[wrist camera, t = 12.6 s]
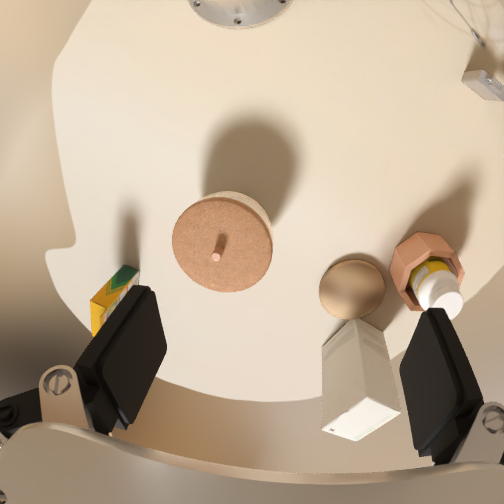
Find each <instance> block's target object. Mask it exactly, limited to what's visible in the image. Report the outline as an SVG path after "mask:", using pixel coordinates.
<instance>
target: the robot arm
mask: <svg viewBox="0 0 504 504" xmlns="http://www.w3.org/2000/svg"><path fill="white" fill-rule="evenodd" d="M281 1H285V3H281ZM292 1H293V0H188V2H189V4H190V6H191V7H192V9H193V10H194V11H195V12H196V13H197V14H198V15H199V16H200V17H201V18H203V19H204V20H206V21H207V22H209V23H211V24H213V25H216V26H219V27H223V28H229V29H245V28H252V27H256V26H259V25H263V24H265V23H267V22H269V21H271V20H273V19H275V18H276V17H278V16H279V15H281V14H282V13H283V12H284V11H285V10H286V9H287V8H288V7H289V5H290V4H291V2H292ZM199 4H200V6H198V5H199ZM238 21H241V23H240V24H237V22H238ZM166 351H167V343H166V339H165V335H164V331H163V327H162V323H161V318H160V314H159V309H158V305H157V300H156V296H155V292H154V291H151V289H150V287H148V286H142V285H133V286H132V287H131V288H130V289H129V291H128V292H127V293H126V294H125V296H124V297H123V298H122V300H121V301H120V302H119V304H118V305H117V306H116V308H115V309H114V310H113V312H112V313H111V314H110V316H109V317H108V318H107V320H106V321H105V323H104V324H103V325H102V327H101V328H100V329H99V331H98V332H97V334H96V335H95V336H94V338H93V340H92V341H91V342H90V343H89V345H88V346H87V348H86V349H85V351H84V352H83V354H82V355H81V356H80V358H79V359H78V361H77V362H76V365H75V366H74V368H73V369H72V368H71V367H68V366H65V365H59V366H55V367H52V368H50V369H49V370H47V371H46V372H45V373H44V374H43V376H42V377H41V379H40V382H39V388H35V389H33V390H30V391H27V392H24V393H21V394H18V395H15V396H12V397H8V398H6V399H3V400H1V401H0V504H504V406H503V405H502V404H500V403H497V402H488V403H485V404H484V401H483V397H482V393H481V391H480V388H479V386H478V383H477V380H476V378H475V375H474V373H473V370H472V368H471V365H470V363H469V361H468V358H467V356H466V354H465V351H464V349H463V347H462V344H461V342H460V340H459V338H458V336H457V334H456V331H455V330H454V327H453V325H452V323H451V321H450V319H449V317H448V315H447V313H446V311H445V309H444V308H433V307H430V308H428V309H427V310H426V312H425V311H424V312H423V313H422V314H421V317H420V319H419V322H418V324H417V327H416V329H415V332H414V334H413V336H412V339H411V341H410V344H409V346H408V348H407V350H406V353H405V355H404V357H403V359H402V362H401V364H400V376H401V381H402V385H403V390H404V395H405V400H406V405H407V410H408V415H409V420H410V426H411V432H412V438H413V444H414V448H415V449H416V450H418V453H419V457H424V456H430V455H431V456H432V461H433V462H432V464H431V465H430V467H422V468H415V469H406V470H396V471H387V472H386V471H385V472H372V473H350V474H349V473H348V474H315V473H293V472H292V473H291V472H277V471H267V470H258V469H249V468H242V467H235V466H228V465H222V464H216V463H210V462H205V461H200V460H195V459H190V458H186V457H181V456H177V455H173V454H169V453H165V452H161V451H157V450H154V449H150V448H147V447H143V446H139V445H136V444H132V443H129V442H126V441H122V440H120V439H116V438H113V436H112V434H111V432H112V430H113V428H114V427H117V428H120V429H123V430H127V427H128V425H129V424H132V423H133V422H134V421H135V419H136V417H137V414H138V412H139V410H140V408H141V406H142V403H143V401H144V399H145V397H146V395H147V393H148V390H149V388H150V386H151V384H152V382H153V379H154V377H155V375H156V373H157V371H158V369H159V367H160V365H161V363H162V361H163V359H164V356H165V354H166Z"/></svg>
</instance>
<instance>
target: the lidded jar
mask: <svg viewBox="0 0 504 504" xmlns="http://www.w3.org/2000/svg"><path fill="white" fill-rule="evenodd" d="M172 246H173V251H174V254H175V258H176V260H177V262H178V264H179V265H180V267H181V268H182V270H183V271H184V272H185V273H186V274H187V275H188V276H189V277H190V278H191V279H192V280H193V281H195V282H196V283H198V284H199V285H201V286H203V287H205V288H208V289H211V290H214V291H219V292H237V291H241V290H244V289H247V288H249V287H251V286H253V285H254V284H256V283H257V282H258V281H259V280H261V278H262V277H263V276H264V275H265V273H266V272H267V270H268V268H269V265H270V262H271V258H272V252H273V231H272V226H271V223H270V220H269V218H268V216H267V214H266V212H265V211H264V209H263V208H262V207H261V206H260V205H259V204H258V203H257V202H256V201H255V200H253V199H252V198H250V197H249V196H246V195H244V194H241V193H238V192H233V191H222V192H216V193H213V194H210V195H207V196H205V197H203V198H202V199H200V200H198V201H197V202H196V203H194V204H193V205H191V206H190V207H189V208H187V209H186V210H185V211H184V212H183V213H182V215H181V216H180V217H179V219H178V220H177V222H176V224H175V227H174V230H173V235H172Z"/></svg>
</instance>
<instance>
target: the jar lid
mask: <svg viewBox="0 0 504 504" xmlns="http://www.w3.org/2000/svg"><path fill="white" fill-rule="evenodd" d="M384 293H385V284H384V281H383V278H382V276H381V273H380V272H379V270H378V269H377V268H376V267H375V266H373V265H372V264H370V263H368V262H366V261H362V260H347V261H343V262H340V263H338V264H336V265H334V266H333V267H331V268H330V269H329V270H328V271H327V272H326V273H325V274H324V276H323V277H322V279H321V282H320V285H319V298H320V302H321V304H322V306H323V308H324V309H325V310H326V311H327V312H328V313H329V314H331V315H332V316H334V317H337V318H340V319H349V320H350V319H358V318H361V317H364V316H366V315H368V314H370V313H371V312H373V311H374V310H375V309H376V308H377V307H378V306H379V304H380V303H381V301H382V299H383V297H384Z"/></svg>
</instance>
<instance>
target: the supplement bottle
mask: <svg viewBox="0 0 504 504" xmlns="http://www.w3.org/2000/svg"><path fill="white" fill-rule="evenodd" d="M408 282H409V284H410V285H411V287H412V289H413V291H414V293H415V295H416V297H417V299H418V302H419V303H420V305H421V307H422V308H423V309H424V310H427V309H428V308H430V307H433V308H444V309H445V311H446V313H447V315H448V317H449V319H450V320H451V319H453V318H454V317H455V316H457V315H458V313H459V312H460V310H461V308H462V306H463V297H462V295H461V294H460V292H459V282H458V280H457V278H456V276H455V275H454V274H453V272H452V271H451V270H450V268H449V267H448V266H447V264H446V263H445V262H444V260H443V259H442V258H441V257H437V256H430V257H429V258H427V259H426V260H424V261H423V262H422V263H420V264H419V265H417V266H416V267H415V268H413V269H412V270H411V272H410V276H409V279H408Z"/></svg>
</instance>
